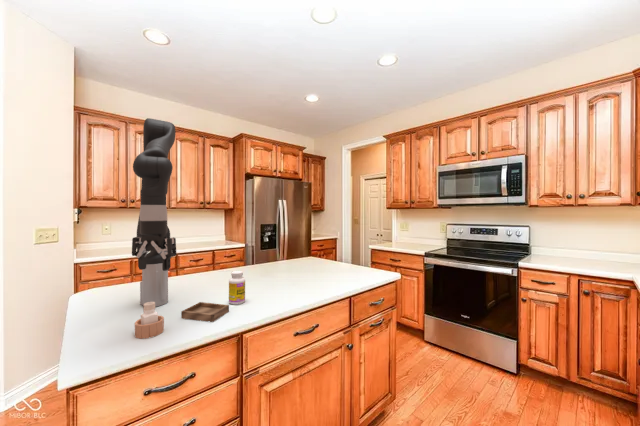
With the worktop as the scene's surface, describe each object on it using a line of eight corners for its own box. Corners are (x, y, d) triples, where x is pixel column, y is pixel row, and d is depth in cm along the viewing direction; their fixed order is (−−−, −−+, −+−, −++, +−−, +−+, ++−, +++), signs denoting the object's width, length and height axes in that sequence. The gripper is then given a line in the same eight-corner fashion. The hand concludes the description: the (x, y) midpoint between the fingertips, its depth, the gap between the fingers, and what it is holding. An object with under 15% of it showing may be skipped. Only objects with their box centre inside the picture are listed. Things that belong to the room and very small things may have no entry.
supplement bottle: (236, 306, 110) (236, 274, 110) (225, 303, 113) (225, 272, 113) (248, 301, 116) (248, 271, 115) (237, 298, 119) (237, 269, 119)
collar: (128, 336, 84) (128, 324, 83) (150, 326, 91) (149, 314, 91) (149, 339, 82) (149, 326, 82) (169, 328, 89) (169, 316, 89)
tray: (181, 318, 98) (181, 311, 98) (199, 308, 107) (199, 302, 107) (212, 322, 94) (212, 315, 94) (228, 311, 104) (228, 305, 104)
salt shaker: (144, 337, 83) (144, 306, 83) (140, 332, 86) (140, 303, 86) (158, 332, 86) (158, 303, 86) (154, 328, 89) (154, 300, 89)
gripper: (181, 219, 89) (182, 268, 89) (144, 218, 91) (144, 266, 91) (164, 220, 81) (165, 273, 82) (124, 219, 84) (124, 271, 84)
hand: (154, 269), depth 86 cm, fingers open, 8 cm apart
